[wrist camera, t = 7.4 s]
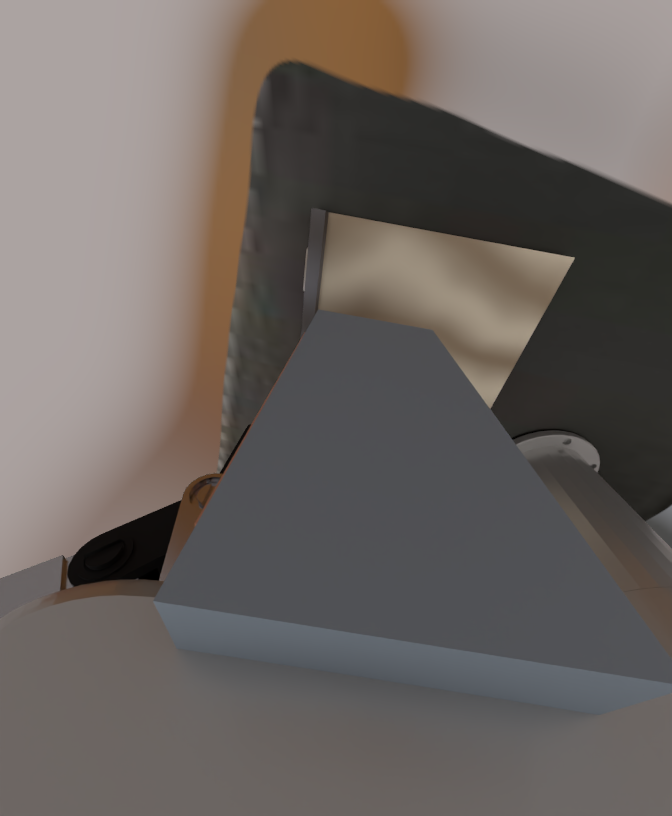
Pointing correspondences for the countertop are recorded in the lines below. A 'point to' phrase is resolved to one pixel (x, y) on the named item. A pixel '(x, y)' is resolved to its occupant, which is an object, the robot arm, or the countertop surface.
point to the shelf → (433, 288)
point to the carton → (402, 540)
